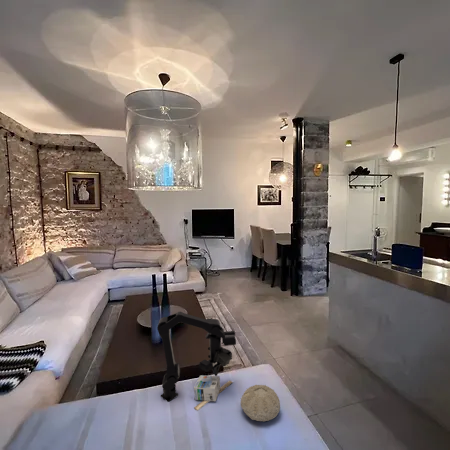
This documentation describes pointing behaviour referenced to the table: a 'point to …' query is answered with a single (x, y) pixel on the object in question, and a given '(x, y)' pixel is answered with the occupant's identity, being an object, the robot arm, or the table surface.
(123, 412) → the table surface
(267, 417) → the beige carved stone
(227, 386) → the rail
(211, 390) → the light bulb box
